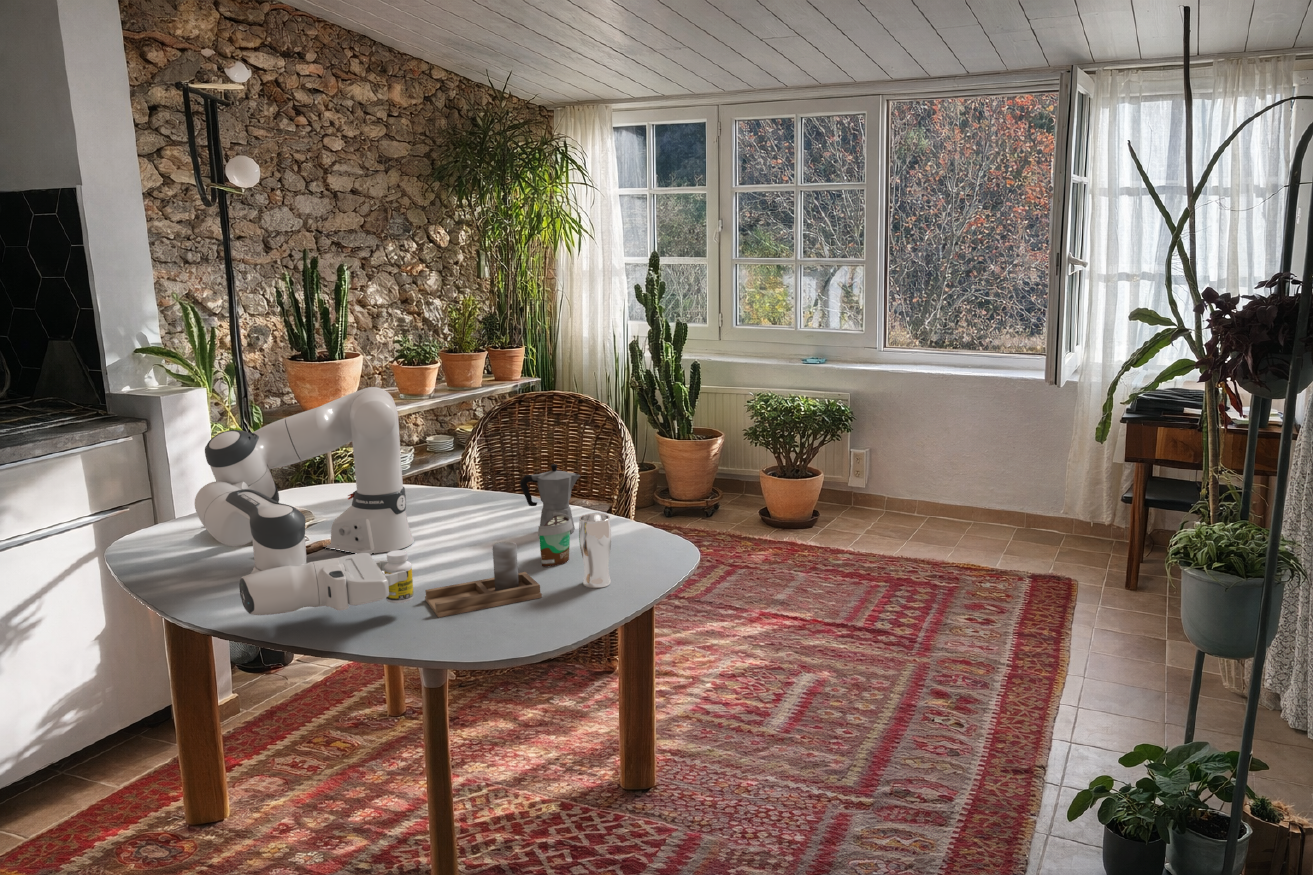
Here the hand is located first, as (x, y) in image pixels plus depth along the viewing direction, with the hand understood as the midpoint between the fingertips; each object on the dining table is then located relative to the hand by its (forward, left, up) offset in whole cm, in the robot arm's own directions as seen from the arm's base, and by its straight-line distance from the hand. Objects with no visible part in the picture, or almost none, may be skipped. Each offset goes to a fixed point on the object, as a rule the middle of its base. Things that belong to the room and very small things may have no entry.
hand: (402, 569), depth 193 cm
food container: (+17, +38, -10) cm, 43 cm away
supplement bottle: (-1, -1, -6) cm, 6 cm away
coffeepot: (+6, +58, -10) cm, 59 cm away
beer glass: (+31, +26, -10) cm, 42 cm away
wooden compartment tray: (+11, +11, -9) cm, 19 cm away
